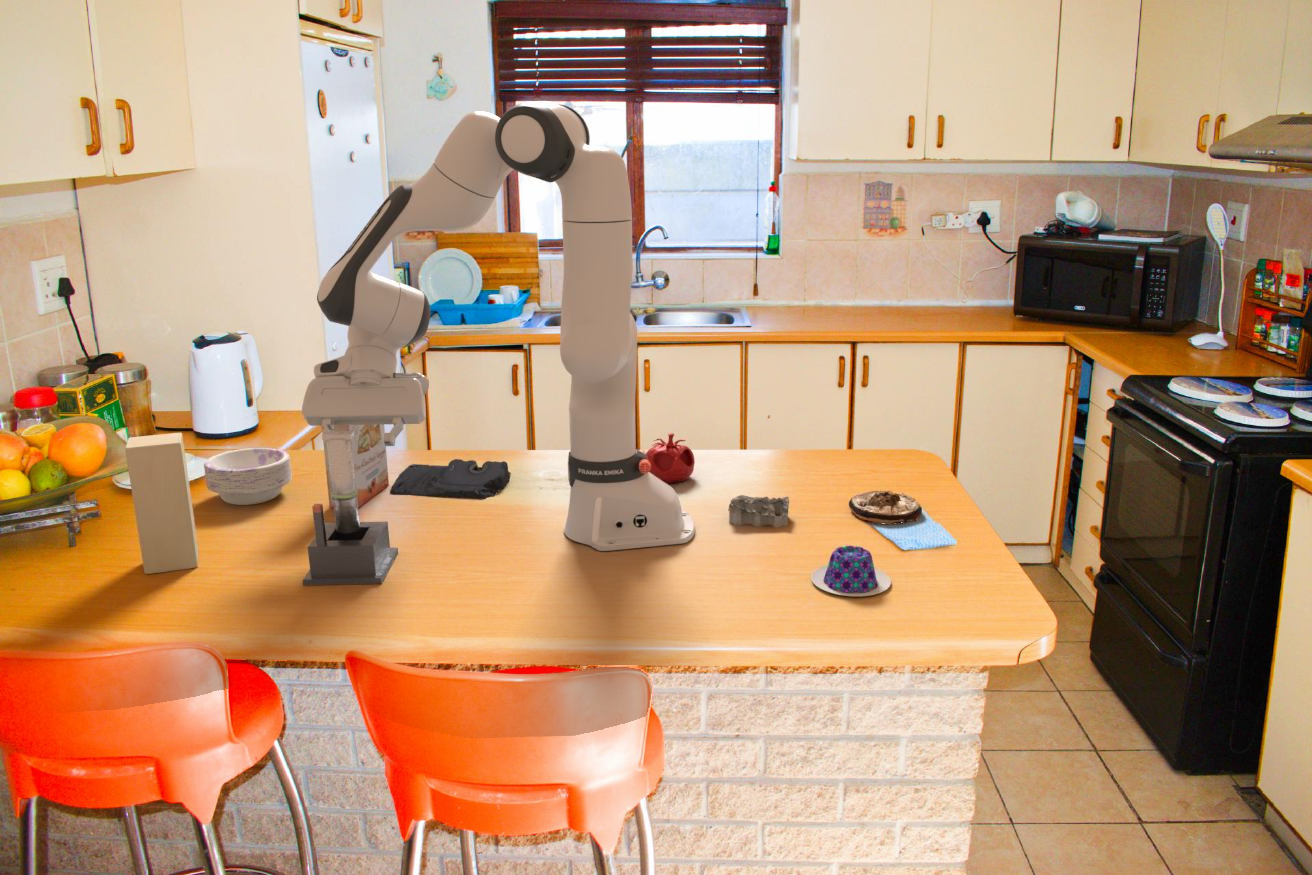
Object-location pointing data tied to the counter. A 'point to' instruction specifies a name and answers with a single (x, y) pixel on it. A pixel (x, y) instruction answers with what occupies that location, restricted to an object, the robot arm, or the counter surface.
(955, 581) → the counter surface
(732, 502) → the egg carton
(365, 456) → the cracker box
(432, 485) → the folded black cloth
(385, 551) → the housing
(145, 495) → the upright wooden block
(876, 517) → the chocolate cream pie
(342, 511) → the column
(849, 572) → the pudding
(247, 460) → the paper bowls
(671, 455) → the pomegranate
